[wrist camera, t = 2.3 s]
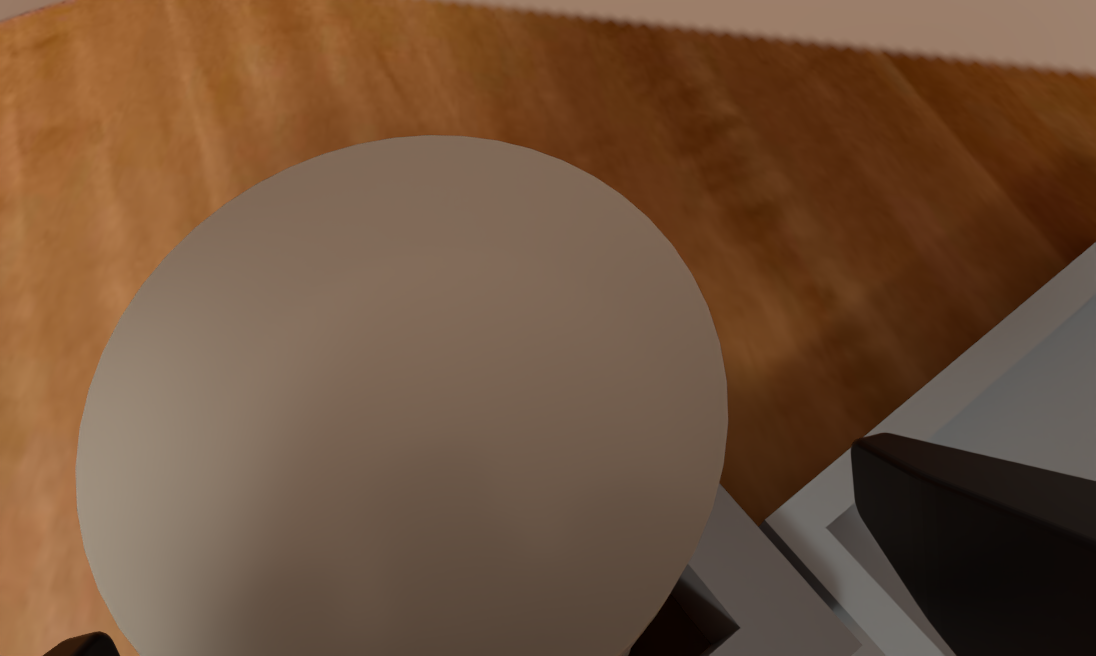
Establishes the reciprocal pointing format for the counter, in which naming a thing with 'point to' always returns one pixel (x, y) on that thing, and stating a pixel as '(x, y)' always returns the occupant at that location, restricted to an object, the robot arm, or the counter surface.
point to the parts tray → (963, 423)
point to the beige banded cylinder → (405, 416)
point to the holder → (754, 594)
